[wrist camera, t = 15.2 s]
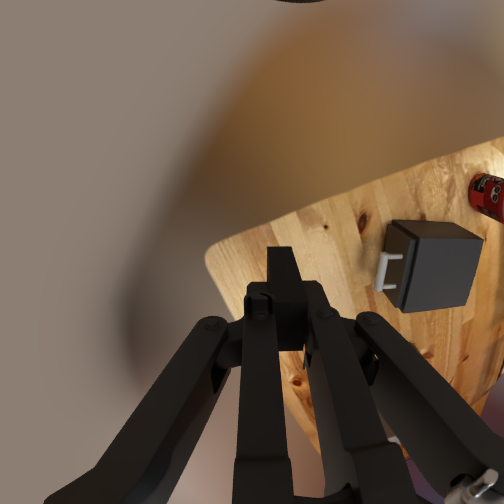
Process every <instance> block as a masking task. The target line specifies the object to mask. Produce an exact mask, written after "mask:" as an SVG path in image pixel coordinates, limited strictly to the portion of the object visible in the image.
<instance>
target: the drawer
mask: <svg viewBox="0 0 504 504" xmlns="http://www.w3.org/2000/svg"><path fill="white" fill-rule="evenodd" d="M416 244H417V241H416V239H414V238H413V237H412V236H410V235H409V234H407V233H406V232H404V231H403V230H402V229H400V228H399V227H397V226H396V225H394V224H388V230H387V238H386V244H385V251H384V252H380V256H379V262H378V268H377V274H376V279H375V284H374V290H375V291H377V292H381V291H383V292H384V293H385V295H386V296H387V297H388V299H389V300H390V301H391V303H392V304H393V305H394V307H395V308H400V307H402V303H403V299H404V297H405V294H406V290H407V286H408V282H409V278H410V273H411V269H412V264H413V259H414V254H415V249H416Z"/></svg>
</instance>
